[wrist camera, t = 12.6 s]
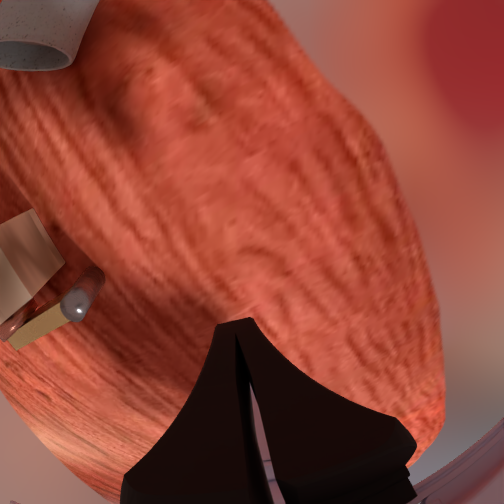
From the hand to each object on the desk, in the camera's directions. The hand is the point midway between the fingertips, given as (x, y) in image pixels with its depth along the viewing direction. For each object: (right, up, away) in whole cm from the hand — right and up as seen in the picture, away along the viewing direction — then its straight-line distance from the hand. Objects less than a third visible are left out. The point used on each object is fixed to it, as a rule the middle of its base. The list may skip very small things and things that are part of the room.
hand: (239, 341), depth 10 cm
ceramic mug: (-14, +20, +1) cm, 25 cm away
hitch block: (-20, +2, +7) cm, 21 cm away
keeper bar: (-15, 0, +8) cm, 17 cm away
